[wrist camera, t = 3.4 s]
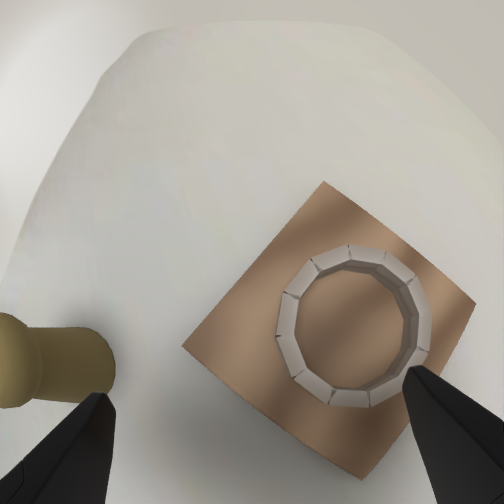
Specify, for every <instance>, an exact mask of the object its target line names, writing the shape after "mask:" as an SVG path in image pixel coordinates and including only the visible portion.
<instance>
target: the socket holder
mask: <svg viewBox="0 0 504 504" xmlns="http://www.w3.org/2000/svg"><path fill="white" fill-rule="evenodd" d="M475 305H476V303H475V302H474V301H473V300H472V299H471V298H470V297H469V296H468V295H467V294H466V293H464V292H463V291H462V290H461V289H460V288H459V287H458V286H457V285H456V284H455V283H453V282H452V281H451V280H450V279H449V278H448V277H447V276H446V275H444V274H443V273H442V272H441V271H440V270H439V269H437V268H436V267H435V266H434V265H433V264H432V263H430V262H429V261H428V260H427V259H426V258H425V257H423V256H422V255H421V254H420V253H418V252H417V251H416V250H415V249H414V248H412V247H411V246H410V245H409V244H407V243H406V242H405V241H404V240H403V239H401V238H400V237H399V236H398V235H396V234H395V233H394V232H392V231H391V230H390V229H389V228H387V227H386V226H385V225H383V224H382V223H381V222H380V221H378V220H377V219H376V218H374V217H373V216H372V215H370V214H369V213H368V212H366V211H365V210H364V209H362V208H361V207H360V206H358V205H357V204H356V203H354V202H353V201H351V200H350V199H349V198H347V197H346V196H345V195H343V194H342V193H340V192H339V191H337V190H336V189H335V188H333V187H332V186H330V185H329V184H328V183H326V182H325V181H323V182H322V183H321V185H320V186H319V187H318V188H317V189H316V190H315V192H314V193H313V194H312V195H311V196H310V197H309V199H308V200H307V201H306V202H305V203H304V205H303V206H302V207H301V208H300V209H299V210H298V212H297V213H296V214H295V215H294V216H293V217H292V219H291V220H290V221H289V222H288V223H287V224H286V226H285V227H284V228H283V229H282V230H281V231H280V233H279V234H278V235H277V236H276V237H275V238H274V239H273V241H272V242H271V243H270V244H269V245H268V246H267V248H266V249H265V250H264V251H263V252H262V253H261V255H260V256H259V257H258V258H257V259H256V260H255V262H254V263H253V264H252V265H251V266H250V267H249V269H248V270H247V271H246V272H245V273H244V274H243V275H242V277H241V278H240V279H239V280H238V281H237V282H236V284H235V285H234V286H233V287H232V288H231V289H230V290H229V292H228V293H227V294H226V295H225V296H224V297H223V299H222V300H221V301H220V302H219V303H218V304H217V305H216V307H215V308H214V309H213V310H212V311H211V312H210V313H209V315H208V316H207V317H206V318H205V319H204V320H203V322H202V323H201V324H200V325H199V326H198V327H197V328H196V330H195V331H194V332H193V333H192V334H191V335H190V336H189V338H188V339H187V340H186V341H185V342H184V343H183V344H182V347H183V348H184V349H186V350H187V351H188V352H189V353H190V354H191V355H192V356H193V357H194V358H196V359H197V360H198V361H199V362H200V363H201V364H202V365H204V366H205V367H206V368H207V369H208V370H209V371H211V372H212V373H213V374H214V375H215V376H216V377H218V378H219V379H220V380H221V381H222V382H224V383H225V384H226V385H227V386H228V387H230V388H231V389H232V390H233V391H235V392H236V393H237V394H238V395H240V396H241V397H242V398H243V399H245V400H246V401H247V402H248V403H250V404H251V405H252V406H253V407H255V408H256V409H257V410H259V411H260V412H261V413H263V414H264V415H265V416H267V417H268V418H269V419H271V420H272V421H273V422H275V423H276V424H277V425H279V426H280V427H281V428H283V429H284V430H285V431H287V432H288V433H290V434H291V435H292V436H294V437H295V438H297V439H298V440H300V441H301V442H302V443H304V444H305V445H307V446H308V447H310V448H311V449H313V450H314V451H316V452H317V453H319V454H320V455H322V456H323V457H325V458H326V459H328V460H329V461H331V462H332V463H334V464H336V465H337V466H339V467H340V468H342V469H344V470H345V471H347V472H348V473H350V474H352V475H353V476H355V477H357V478H358V479H360V480H363V479H364V478H365V477H366V476H367V475H368V474H369V472H370V471H371V470H372V469H373V468H374V467H375V465H376V464H377V463H378V462H379V461H380V459H381V458H382V457H383V456H384V455H385V453H386V452H387V451H388V450H389V448H390V447H391V446H392V444H393V443H394V442H395V440H396V439H397V438H398V437H399V435H400V434H401V433H402V431H403V430H404V428H405V427H406V426H407V424H408V423H409V421H410V419H409V415H408V411H407V407H406V403H405V399H404V396H403V392H402V384H403V381H404V378H405V375H406V373H407V370H408V368H409V367H411V366H415V365H423V366H425V367H426V368H428V369H429V370H430V371H432V372H433V373H435V374H436V375H438V376H439V375H440V373H441V372H442V370H443V368H444V367H445V365H446V363H447V361H448V359H449V358H450V356H451V354H452V352H453V350H454V348H455V347H456V345H457V343H458V341H459V339H460V337H461V335H462V333H463V331H464V329H465V327H466V325H467V323H468V321H469V318H470V316H471V314H472V312H473V310H474V308H475Z"/></svg>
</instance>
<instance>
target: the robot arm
mask: <svg viewBox="0 0 504 504" xmlns="http://www.w3.org/2000/svg"><path fill="white" fill-rule="evenodd" d="M402 392H403V396H404V399H405V403H406V407H407V411H408V415H409V419H410V423H411V427H412V430H413V434H414V437H415V439H416V442H417V445H418V448H419V450H420V453H421V456H422V459H423V462H424V465H425V467H426V470H427V473H428V476H429V479H430V482H431V485H432V488H433V491H434V495H435V498H436V501H437V504H504V421H503V420H502V419H500V418H499V417H497V416H496V415H494V414H493V413H491V412H490V411H489V410H487V409H486V408H484V407H483V406H481V405H480V404H478V403H477V402H475V401H474V400H473V399H471V398H470V397H468V396H467V395H465V394H464V393H462V392H461V391H460V390H458V389H457V388H455V387H454V386H452V385H451V384H449V383H448V382H446V381H445V380H444V379H442V378H441V377H439V376H438V375H436V374H435V373H433V372H432V371H430V370H429V369H428V368H426V367H425V366H423V365H415V366H411V367H409V368H408V370H407V373H406V375H405V378H404V381H403V384H402ZM115 421H116V410H115V408H114V406H113V404H112V402H111V401H110V399H109V397H108V395H107V394H106V393H105V392H97V391H94V392H92V393H90V394H89V395H88V396H87V397H86V398H85V399H84V400H83V401H82V402H81V403H80V404H79V405H78V406H77V407H76V408H75V409H74V410H73V411H72V412H71V413H70V414H69V415H68V416H67V417H66V418H65V419H64V420H62V421H61V422H60V423H59V424H58V425H57V426H56V427H55V428H54V429H53V430H52V431H51V432H50V433H49V434H48V435H47V436H46V437H45V438H44V439H43V440H42V441H41V442H40V443H39V444H38V445H37V446H36V447H35V448H34V449H33V450H32V451H31V452H30V453H29V454H27V455H26V456H25V457H24V458H23V461H22V460H21V461H20V462H19V463H18V464H17V465H16V466H15V467H14V468H13V469H12V470H11V471H10V472H9V473H8V474H7V475H5V476H4V477H3V478H2V479H1V480H0V504H105V499H106V493H107V487H108V480H109V475H110V469H111V463H112V457H113V445H114V432H115Z"/></svg>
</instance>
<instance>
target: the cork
mask: <svg viewBox="0 0 504 504" xmlns="http://www.w3.org/2000/svg"><path fill="white" fill-rule="evenodd" d="M114 378H115V361H114V357H113V353H112V351H111V349H110V347H109V345H108V344H107V342H106V340H105V339H104V338H103V337H101V336H100V335H99V334H98V333H97V332H95V331H93V330H91V329H89V328H80V327H66V328H31V327H27V325H26V324H24V323H23V322H21V321H20V320H18V319H17V318H15V317H14V316H12V315H10V314H6V313H0V408H4V409H5V408H13V407H20V406H22V405H24V404H25V403H27V402H28V401H29V400H31V399H32V398H33V399H41V400H50V401H59V402H71V403H81V402H82V401H83V400H84V399H85V398H86V397H87V396H88V395H89V394H90V393H92V392H94V391H97V392H105V393H106V394H108V392H109V391H110V389H111V388H112V385H113V382H114Z"/></svg>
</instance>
